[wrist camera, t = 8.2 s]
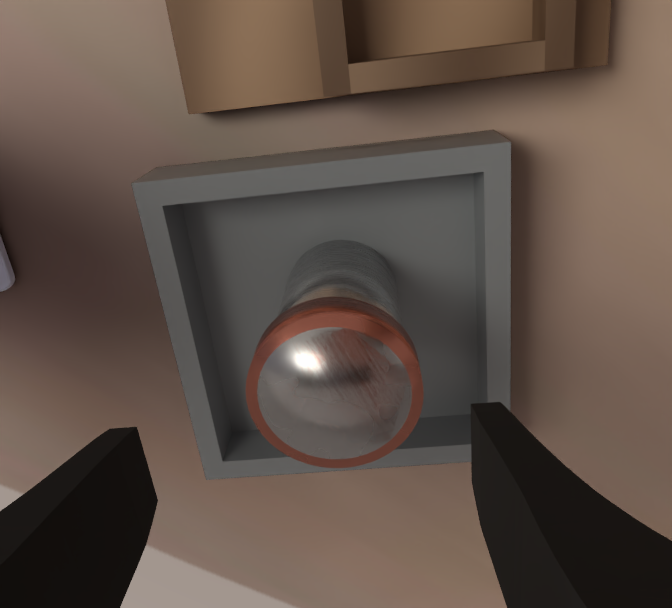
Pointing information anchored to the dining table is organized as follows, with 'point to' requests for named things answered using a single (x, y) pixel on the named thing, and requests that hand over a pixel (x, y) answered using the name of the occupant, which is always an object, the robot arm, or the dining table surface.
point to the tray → (321, 226)
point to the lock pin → (336, 362)
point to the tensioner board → (372, 45)
